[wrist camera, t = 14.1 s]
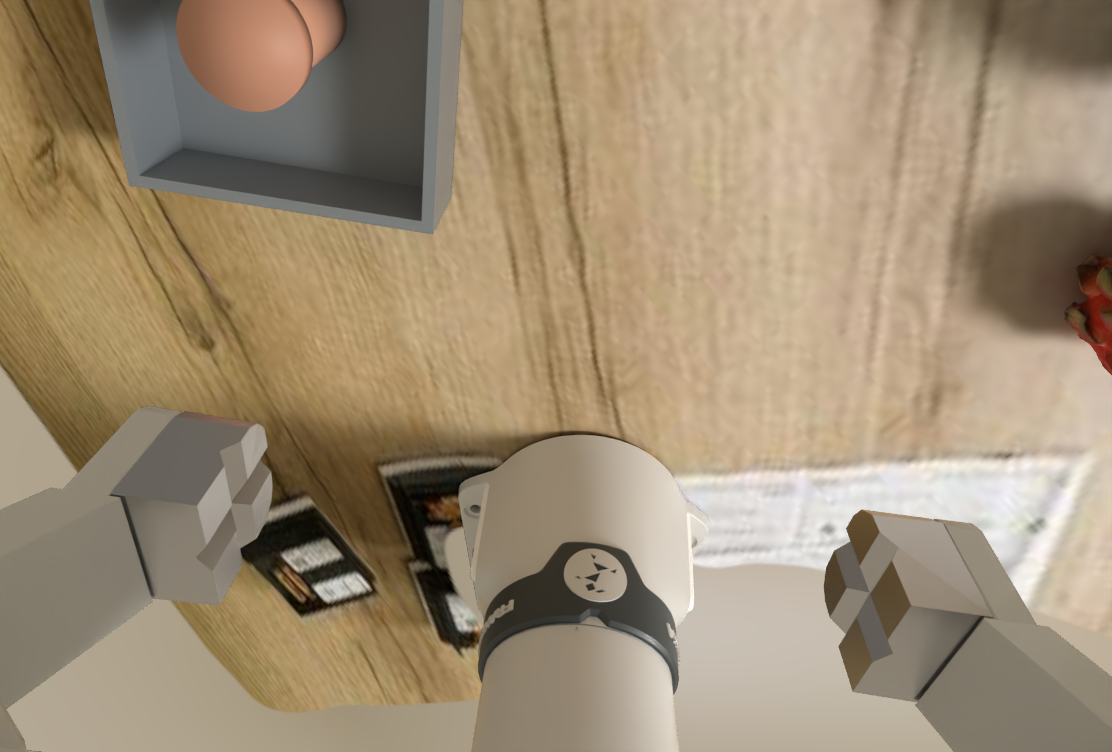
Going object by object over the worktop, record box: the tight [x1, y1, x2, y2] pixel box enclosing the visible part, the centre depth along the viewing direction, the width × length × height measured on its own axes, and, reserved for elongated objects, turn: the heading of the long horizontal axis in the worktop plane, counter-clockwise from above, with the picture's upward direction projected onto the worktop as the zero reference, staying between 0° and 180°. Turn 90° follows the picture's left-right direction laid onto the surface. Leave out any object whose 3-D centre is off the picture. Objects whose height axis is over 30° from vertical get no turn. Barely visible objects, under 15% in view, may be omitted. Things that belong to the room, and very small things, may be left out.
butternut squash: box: [176, 0, 347, 112], centre depth 30 cm, size 5×5×8 cm
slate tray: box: [89, 0, 463, 234], centre depth 33 cm, size 15×15×5 cm
